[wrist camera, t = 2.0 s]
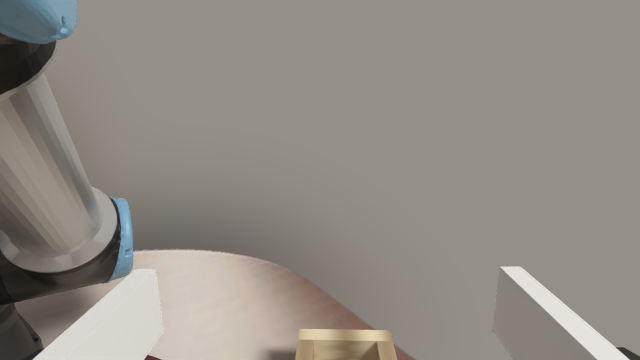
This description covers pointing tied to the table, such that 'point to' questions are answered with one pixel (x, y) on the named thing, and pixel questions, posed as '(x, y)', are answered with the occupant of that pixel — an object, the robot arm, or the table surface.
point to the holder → (345, 345)
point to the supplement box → (151, 358)
